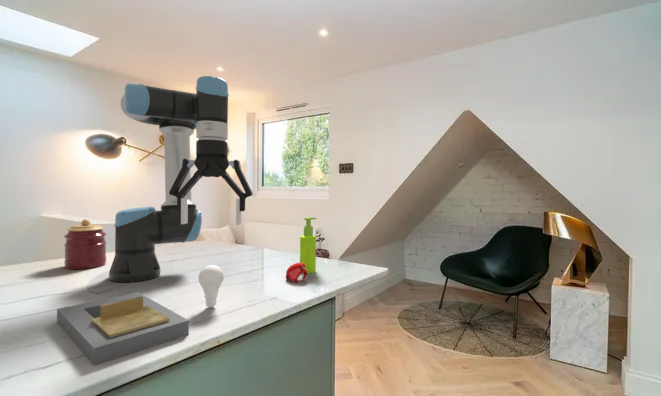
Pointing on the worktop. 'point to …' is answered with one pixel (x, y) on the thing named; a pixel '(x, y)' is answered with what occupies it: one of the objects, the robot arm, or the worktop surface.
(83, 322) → the socket block
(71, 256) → the canister
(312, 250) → the soap dispenser
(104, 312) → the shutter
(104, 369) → the worktop surface
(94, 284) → the worktop surface
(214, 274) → the lightbulb
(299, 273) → the cap
